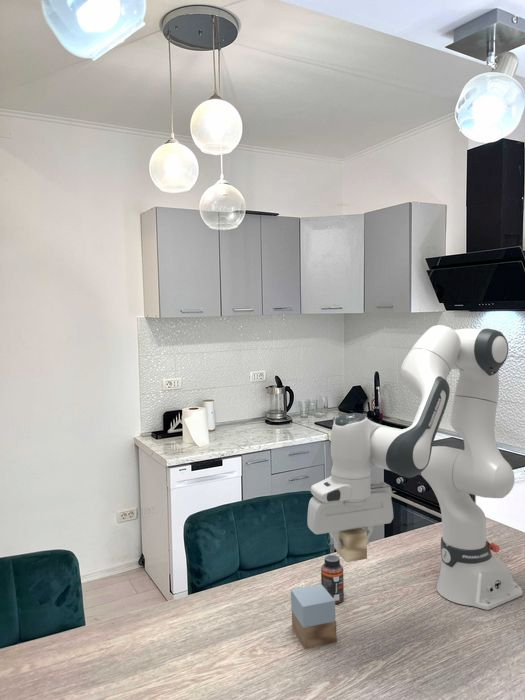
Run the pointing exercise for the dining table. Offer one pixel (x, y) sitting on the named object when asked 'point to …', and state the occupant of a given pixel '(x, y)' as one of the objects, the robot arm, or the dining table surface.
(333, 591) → the supplement bottle
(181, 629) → the dining table surface
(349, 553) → the maple block
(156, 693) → the dining table surface
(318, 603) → the tower top
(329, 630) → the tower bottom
